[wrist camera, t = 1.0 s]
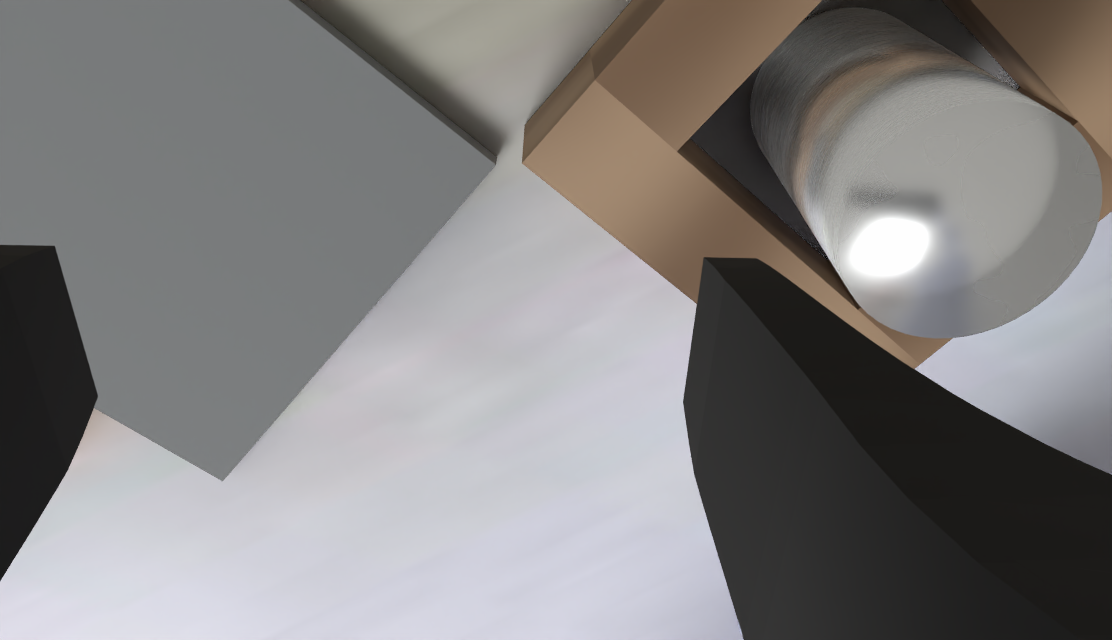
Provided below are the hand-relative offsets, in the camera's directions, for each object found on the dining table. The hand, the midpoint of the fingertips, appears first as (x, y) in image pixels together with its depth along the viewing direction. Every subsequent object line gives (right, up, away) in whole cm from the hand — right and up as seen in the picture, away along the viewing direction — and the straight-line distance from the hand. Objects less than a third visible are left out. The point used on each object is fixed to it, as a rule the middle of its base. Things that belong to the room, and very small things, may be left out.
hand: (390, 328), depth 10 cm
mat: (-8, +3, +11) cm, 14 cm away
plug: (+8, +5, +10) cm, 14 cm away
